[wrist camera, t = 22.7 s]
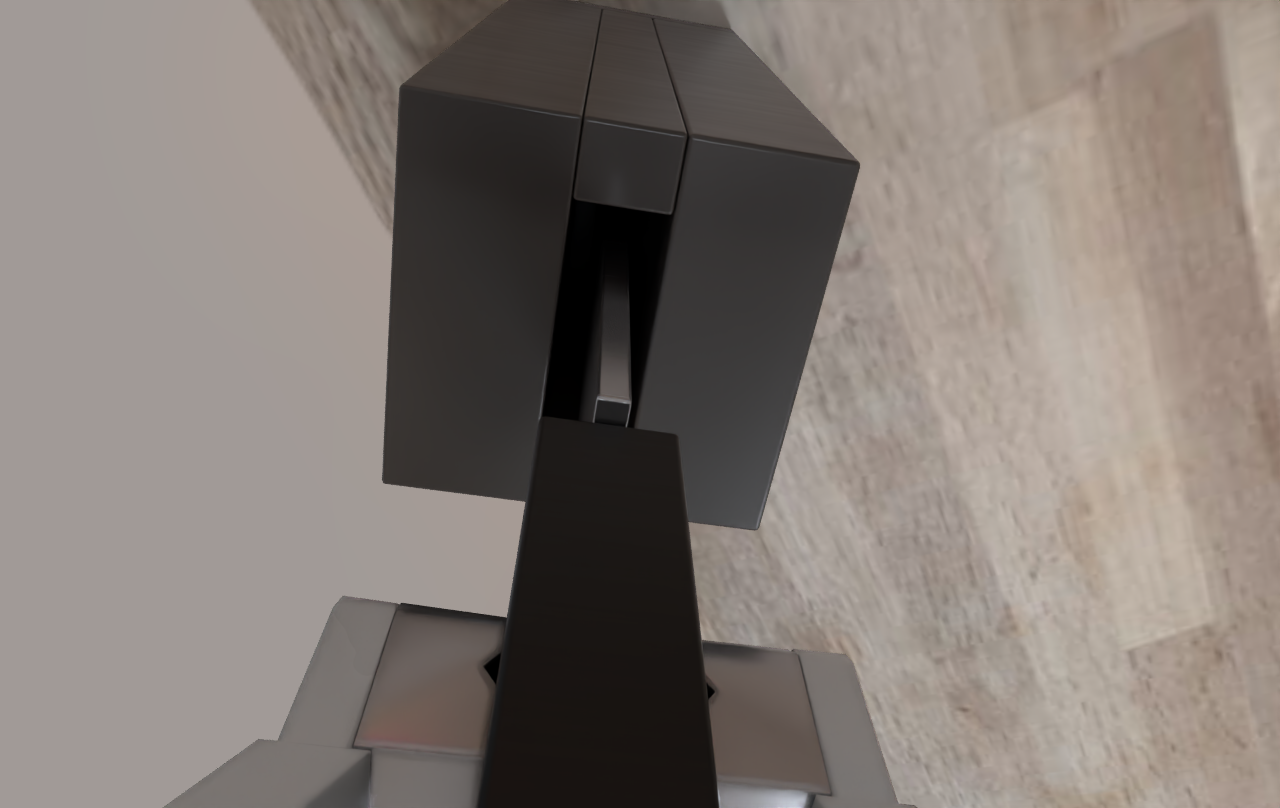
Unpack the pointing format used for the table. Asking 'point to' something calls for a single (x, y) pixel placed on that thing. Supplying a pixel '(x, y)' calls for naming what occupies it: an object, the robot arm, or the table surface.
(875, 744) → the robot arm
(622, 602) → the knife
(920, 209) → the table surface
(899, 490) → the table surface
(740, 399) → the knife block
